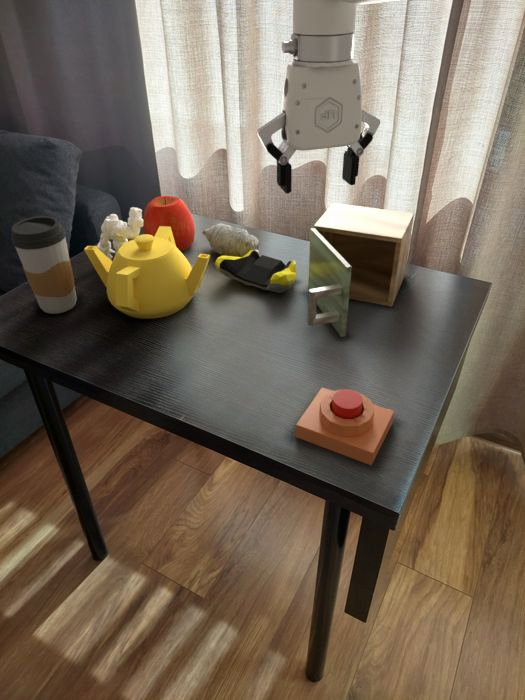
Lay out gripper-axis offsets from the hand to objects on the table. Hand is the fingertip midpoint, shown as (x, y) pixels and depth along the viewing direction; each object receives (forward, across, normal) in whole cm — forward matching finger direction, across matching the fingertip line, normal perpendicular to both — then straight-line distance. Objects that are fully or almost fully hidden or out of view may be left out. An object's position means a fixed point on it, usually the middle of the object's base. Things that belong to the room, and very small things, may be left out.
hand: (317, 186), depth 75 cm
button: (+18, -6, -26) cm, 33 cm away
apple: (+22, -19, +35) cm, 45 cm away
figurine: (+22, -29, +29) cm, 46 cm away
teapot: (+22, -25, +14) cm, 36 cm away
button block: (+22, -6, -26) cm, 35 cm away
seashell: (+22, -8, +27) cm, 36 cm away
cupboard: (+22, +12, +7) cm, 26 cm away
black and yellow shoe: (+22, -5, +13) cm, 26 cm away
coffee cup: (+22, -41, +17) cm, 50 cm away
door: (+22, 0, 0) cm, 22 cm away
